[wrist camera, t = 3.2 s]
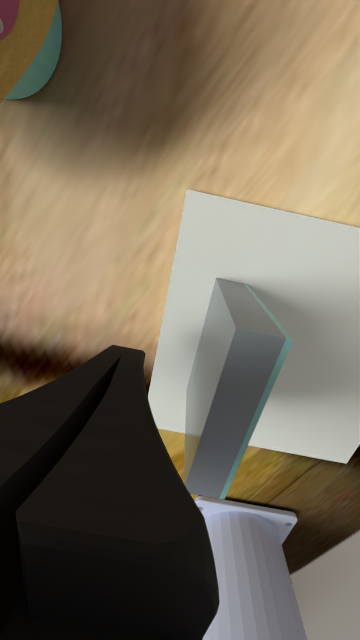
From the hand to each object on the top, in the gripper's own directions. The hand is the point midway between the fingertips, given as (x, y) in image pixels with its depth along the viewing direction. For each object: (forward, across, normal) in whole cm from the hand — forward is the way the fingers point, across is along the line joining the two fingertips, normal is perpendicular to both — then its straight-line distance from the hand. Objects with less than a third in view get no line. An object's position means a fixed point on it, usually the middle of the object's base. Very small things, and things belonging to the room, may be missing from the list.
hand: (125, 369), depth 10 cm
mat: (+4, -8, 0) cm, 9 cm away
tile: (+4, -4, 0) cm, 6 cm away
